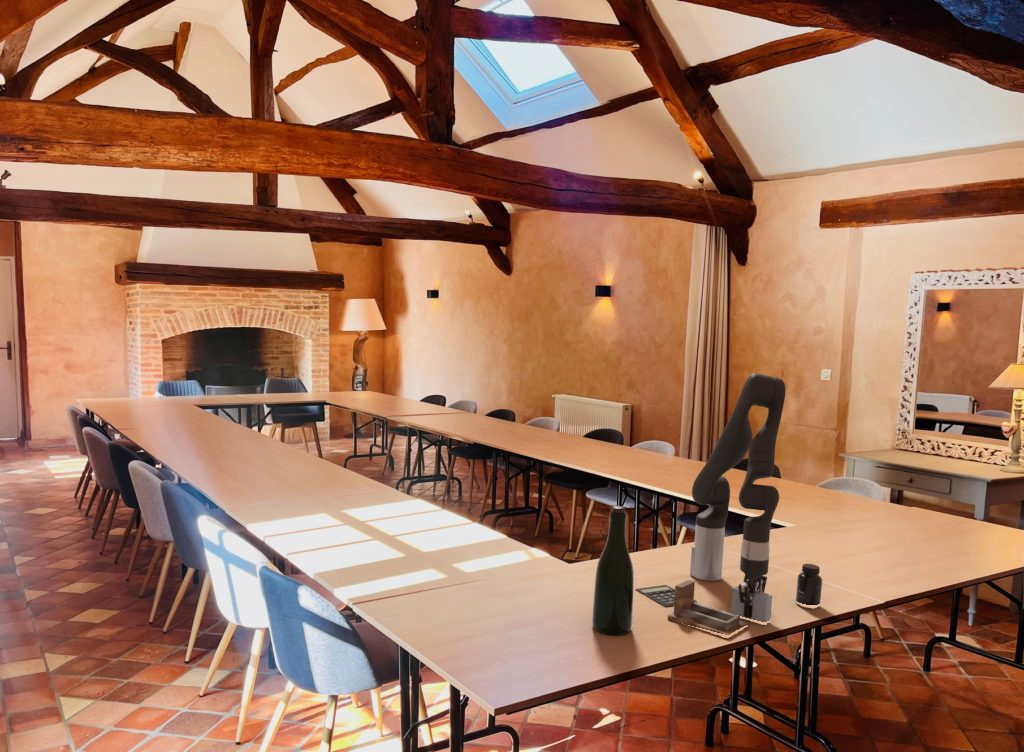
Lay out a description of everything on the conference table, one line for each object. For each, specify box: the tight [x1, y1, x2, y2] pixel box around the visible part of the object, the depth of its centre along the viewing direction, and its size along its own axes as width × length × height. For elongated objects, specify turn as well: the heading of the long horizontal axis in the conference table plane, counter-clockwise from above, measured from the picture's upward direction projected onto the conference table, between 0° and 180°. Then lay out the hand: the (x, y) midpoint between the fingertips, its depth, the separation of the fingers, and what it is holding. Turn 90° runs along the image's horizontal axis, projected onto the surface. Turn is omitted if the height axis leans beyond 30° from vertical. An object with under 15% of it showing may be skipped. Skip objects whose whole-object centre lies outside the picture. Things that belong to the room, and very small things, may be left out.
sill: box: [667, 579, 749, 635], centre depth 213 cm, size 18×12×9 cm, turn 48°
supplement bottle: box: [795, 563, 823, 605], centre depth 230 cm, size 7×7×12 cm
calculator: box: [635, 584, 698, 608], centre depth 233 cm, size 12×1×15 cm
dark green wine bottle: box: [591, 505, 635, 636], centre depth 205 cm, size 10×10×33 cm
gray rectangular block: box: [730, 585, 773, 622], centre depth 217 cm, size 10×4×8 cm, turn 48°
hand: (750, 615), depth 217 cm, fingers closed on gray rectangular block, 3 cm apart
